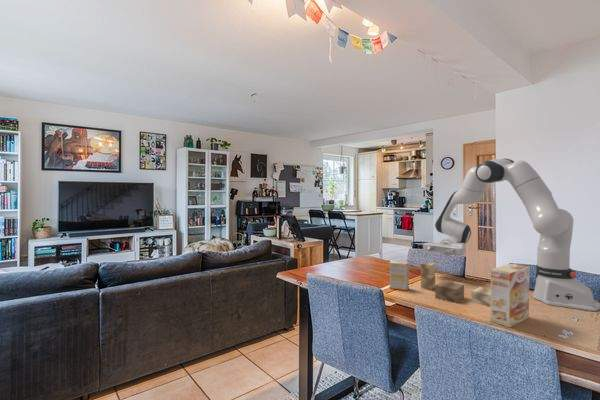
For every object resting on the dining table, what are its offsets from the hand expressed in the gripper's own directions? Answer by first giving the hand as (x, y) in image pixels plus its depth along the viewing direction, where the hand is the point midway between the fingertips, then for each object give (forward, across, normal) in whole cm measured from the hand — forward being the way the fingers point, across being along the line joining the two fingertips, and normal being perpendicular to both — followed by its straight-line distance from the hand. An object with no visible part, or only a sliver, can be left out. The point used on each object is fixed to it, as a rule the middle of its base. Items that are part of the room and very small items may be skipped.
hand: (437, 250), depth 168 cm
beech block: (+15, +27, +16) cm, 35 cm away
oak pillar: (+12, +1, +16) cm, 20 cm away
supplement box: (+22, -9, +17) cm, 29 cm away
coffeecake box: (+29, +39, +16) cm, 51 cm away
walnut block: (+20, +14, +16) cm, 29 cm away
